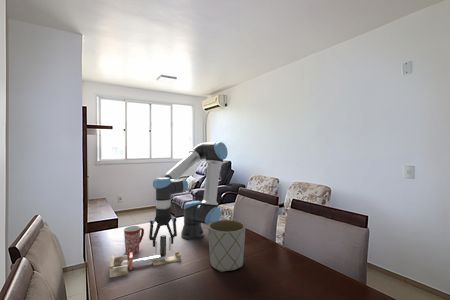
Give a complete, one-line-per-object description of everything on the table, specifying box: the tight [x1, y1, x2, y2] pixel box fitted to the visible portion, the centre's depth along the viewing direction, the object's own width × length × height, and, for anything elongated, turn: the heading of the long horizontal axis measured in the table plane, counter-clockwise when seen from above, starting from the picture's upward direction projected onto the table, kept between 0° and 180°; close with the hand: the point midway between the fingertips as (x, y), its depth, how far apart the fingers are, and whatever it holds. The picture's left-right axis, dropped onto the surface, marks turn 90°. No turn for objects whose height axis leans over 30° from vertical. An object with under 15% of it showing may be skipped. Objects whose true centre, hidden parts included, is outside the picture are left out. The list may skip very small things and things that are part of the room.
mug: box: [123, 225, 145, 255], centre depth 134 cm, size 13×9×14 cm
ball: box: [120, 259, 130, 269], centre depth 113 cm, size 4×4×4 cm
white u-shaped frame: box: [129, 235, 167, 271], centre depth 118 cm, size 18×6×13 cm, turn 113°
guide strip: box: [151, 251, 182, 266], centre depth 121 cm, size 14×4×3 cm, turn 113°
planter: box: [207, 219, 246, 273], centre depth 118 cm, size 19×19×20 cm
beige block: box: [109, 254, 128, 278], centre depth 112 cm, size 8×12×5 cm, turn 23°
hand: (163, 251), depth 121 cm, fingers open, 7 cm apart
